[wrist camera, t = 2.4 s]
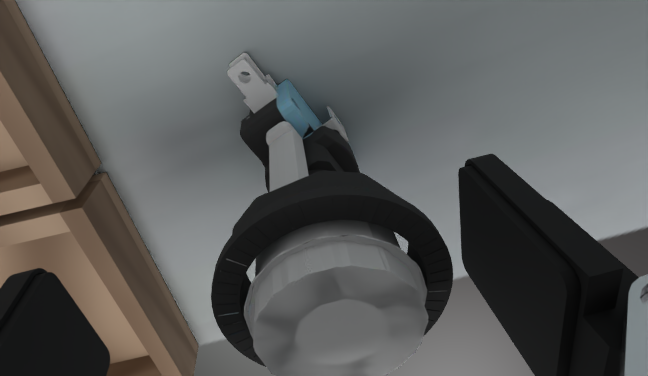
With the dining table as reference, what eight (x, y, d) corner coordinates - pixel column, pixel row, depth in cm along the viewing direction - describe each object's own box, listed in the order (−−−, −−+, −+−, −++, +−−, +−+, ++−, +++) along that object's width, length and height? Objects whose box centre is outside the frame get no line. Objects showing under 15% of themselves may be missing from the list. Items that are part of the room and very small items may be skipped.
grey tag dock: (106, 172, 17) (81, 207, 15) (198, 345, 22) (190, 391, 20) (-197, 242, 17) (-266, 287, 15) (-31, 398, 23) (-64, 449, 20)
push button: (182, 96, 16) (84, 285, 7) (299, 6, 15) (344, 104, 6) (290, 213, 19) (310, 442, 10) (393, 146, 18) (509, 340, 9)
